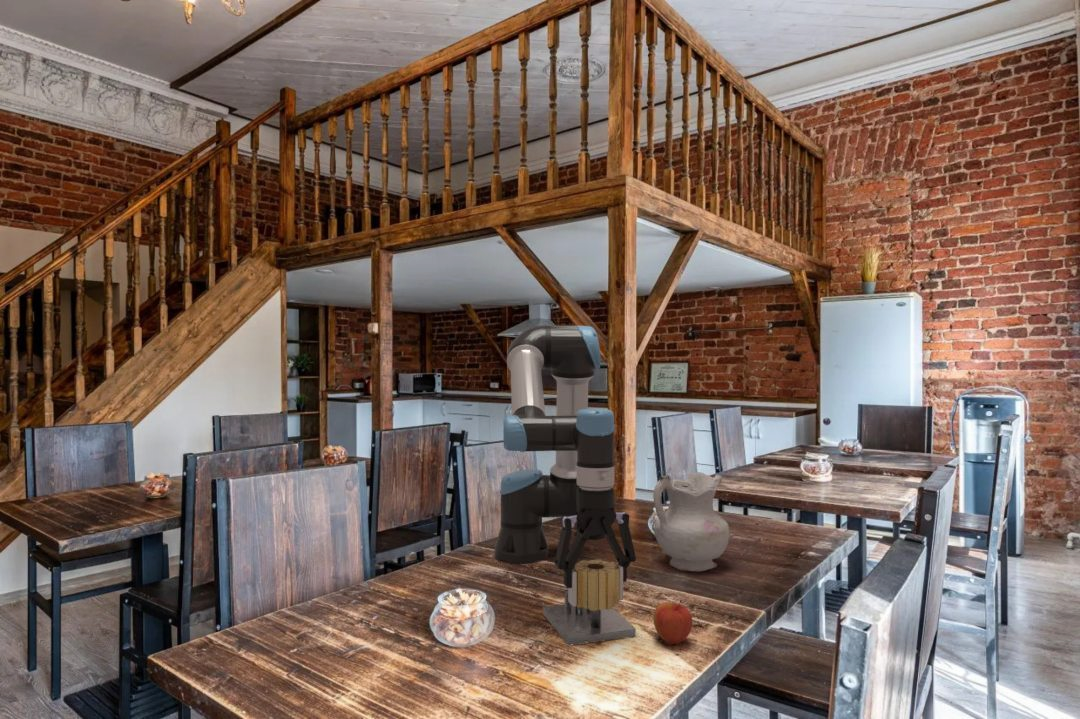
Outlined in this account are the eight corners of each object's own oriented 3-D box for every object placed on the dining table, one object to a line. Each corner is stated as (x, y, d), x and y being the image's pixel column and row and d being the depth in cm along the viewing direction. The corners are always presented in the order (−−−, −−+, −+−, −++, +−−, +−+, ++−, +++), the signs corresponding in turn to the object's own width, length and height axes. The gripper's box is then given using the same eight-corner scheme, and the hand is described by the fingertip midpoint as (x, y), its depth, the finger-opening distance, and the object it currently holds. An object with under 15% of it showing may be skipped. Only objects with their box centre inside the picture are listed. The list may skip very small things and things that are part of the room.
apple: (650, 633, 124) (650, 592, 124) (687, 633, 124) (687, 593, 124) (656, 650, 117) (656, 607, 117) (696, 650, 117) (696, 607, 117)
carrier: (542, 614, 134) (542, 581, 134) (603, 606, 138) (603, 574, 138) (568, 646, 119) (568, 608, 119) (635, 636, 123) (635, 600, 123)
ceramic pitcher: (692, 588, 153) (699, 487, 152) (631, 562, 167) (637, 470, 166) (740, 569, 167) (747, 477, 166) (680, 547, 182) (686, 462, 180)
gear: (582, 613, 118) (582, 576, 118) (566, 596, 127) (565, 561, 127) (626, 607, 121) (626, 571, 121) (607, 591, 130) (607, 557, 130)
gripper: (549, 494, 118) (549, 614, 117) (654, 487, 124) (654, 601, 124) (537, 486, 125) (537, 600, 124) (637, 480, 131) (637, 588, 131)
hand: (595, 600), depth 124 cm, fingers closed on gear, 9 cm apart
